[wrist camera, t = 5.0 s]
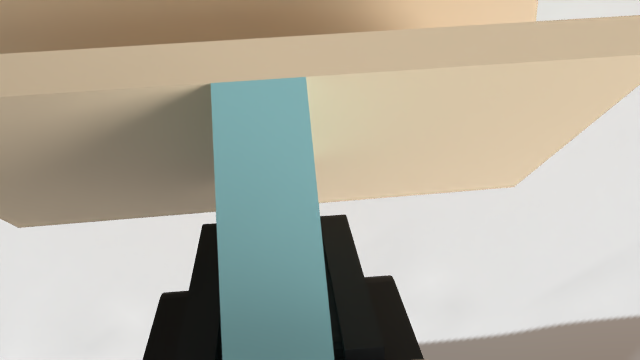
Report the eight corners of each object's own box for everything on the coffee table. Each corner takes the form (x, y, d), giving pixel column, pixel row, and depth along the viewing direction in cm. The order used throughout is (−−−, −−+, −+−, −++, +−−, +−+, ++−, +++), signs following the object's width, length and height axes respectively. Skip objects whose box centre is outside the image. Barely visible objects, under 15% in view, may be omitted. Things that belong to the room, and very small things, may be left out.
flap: (667, 13, 8) (809, 445, 6) (508, 163, 13) (560, 406, 12) (-204, 66, 7) (-312, 579, 5) (20, 201, 13) (2, 468, 11)
